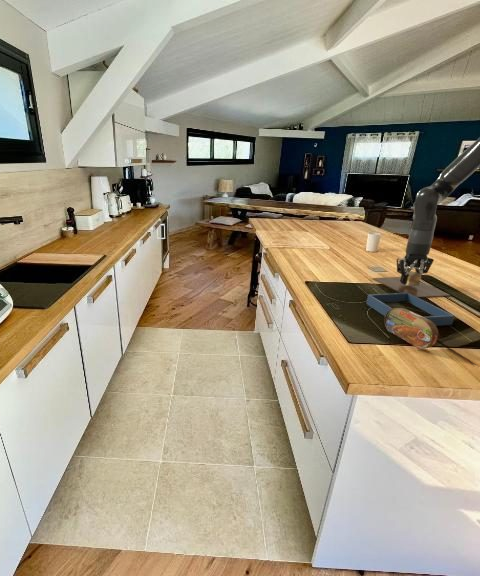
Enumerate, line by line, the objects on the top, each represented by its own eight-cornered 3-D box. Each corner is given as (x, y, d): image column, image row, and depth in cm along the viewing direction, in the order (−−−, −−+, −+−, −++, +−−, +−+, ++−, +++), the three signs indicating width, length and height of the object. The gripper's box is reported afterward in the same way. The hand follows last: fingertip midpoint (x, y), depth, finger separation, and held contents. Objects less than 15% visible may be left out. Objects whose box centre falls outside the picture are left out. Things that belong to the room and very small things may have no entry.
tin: (381, 328, 96) (387, 303, 93) (390, 327, 96) (395, 302, 93) (426, 355, 82) (434, 326, 79) (435, 353, 83) (444, 325, 80)
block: (410, 281, 127) (412, 270, 126) (418, 285, 123) (421, 274, 121) (399, 282, 127) (402, 271, 125) (407, 286, 123) (410, 274, 121)
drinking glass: (377, 252, 180) (381, 235, 176) (364, 251, 183) (367, 234, 179) (378, 249, 185) (381, 233, 182) (365, 248, 188) (368, 232, 185)
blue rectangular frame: (405, 302, 113) (408, 292, 112) (451, 327, 95) (454, 315, 94) (365, 304, 112) (367, 294, 111) (404, 330, 94) (407, 318, 93)
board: (406, 279, 137) (407, 276, 136) (449, 298, 116) (450, 295, 116) (372, 281, 135) (372, 278, 135) (409, 301, 115) (410, 297, 114)
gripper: (409, 244, 115) (398, 287, 121) (445, 242, 116) (433, 285, 122) (395, 239, 122) (386, 281, 128) (429, 238, 123) (418, 279, 129)
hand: (409, 283), depth 125 cm, fingers closed on block, 4 cm apart
